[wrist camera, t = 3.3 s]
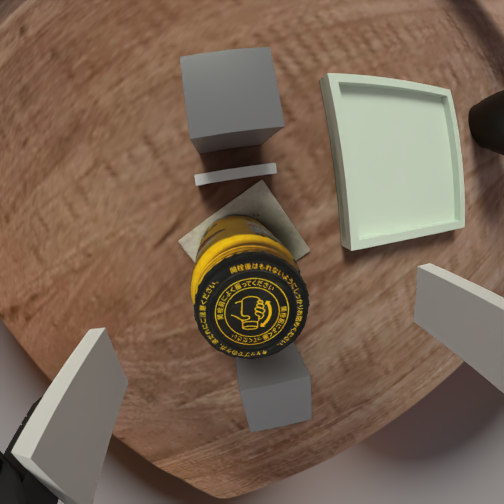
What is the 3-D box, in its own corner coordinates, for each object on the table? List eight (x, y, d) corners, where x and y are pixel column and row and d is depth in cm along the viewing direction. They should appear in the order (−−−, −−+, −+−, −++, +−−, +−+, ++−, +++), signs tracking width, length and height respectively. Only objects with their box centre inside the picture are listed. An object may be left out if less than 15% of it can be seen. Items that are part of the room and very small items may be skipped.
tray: (319, 80, 21) (327, 73, 19) (438, 93, 22) (450, 90, 20) (341, 245, 25) (351, 250, 23) (452, 224, 26) (464, 227, 24)
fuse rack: (183, 80, 19) (169, 37, 12) (255, 71, 20) (273, 25, 12) (238, 385, 27) (247, 443, 19) (295, 374, 28) (317, 428, 20)
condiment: (178, 240, 23) (143, 299, 11) (261, 179, 22) (308, 177, 11) (230, 305, 25) (243, 399, 13) (309, 249, 24) (382, 306, 13)
